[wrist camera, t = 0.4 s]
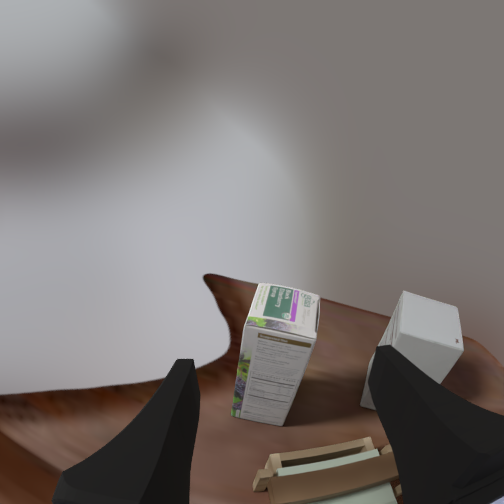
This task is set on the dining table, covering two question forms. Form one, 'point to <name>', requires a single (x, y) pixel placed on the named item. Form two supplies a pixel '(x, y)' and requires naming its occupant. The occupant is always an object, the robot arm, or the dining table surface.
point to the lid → (370, 500)
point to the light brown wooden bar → (332, 481)
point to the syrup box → (274, 352)
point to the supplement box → (422, 337)
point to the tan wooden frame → (315, 459)
